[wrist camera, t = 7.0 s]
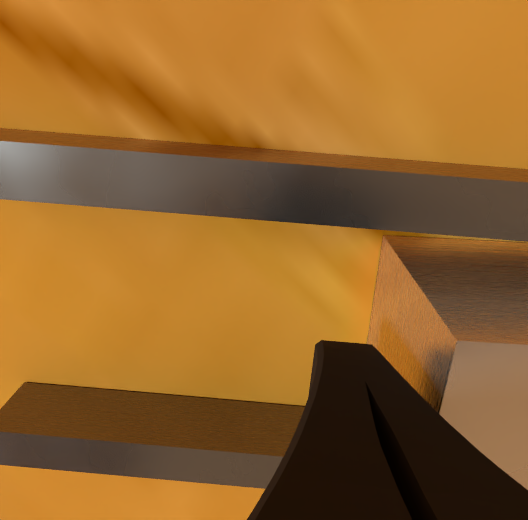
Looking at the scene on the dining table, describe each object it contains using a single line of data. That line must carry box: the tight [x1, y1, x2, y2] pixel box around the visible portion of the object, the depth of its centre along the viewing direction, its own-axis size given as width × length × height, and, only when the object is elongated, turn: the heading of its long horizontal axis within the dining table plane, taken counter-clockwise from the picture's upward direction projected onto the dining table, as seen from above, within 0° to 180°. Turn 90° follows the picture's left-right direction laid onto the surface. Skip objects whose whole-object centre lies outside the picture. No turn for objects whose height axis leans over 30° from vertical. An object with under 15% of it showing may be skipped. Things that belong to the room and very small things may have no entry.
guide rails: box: [0, 128, 528, 489], centre depth 10 cm, size 9×20×3 cm, turn 86°
